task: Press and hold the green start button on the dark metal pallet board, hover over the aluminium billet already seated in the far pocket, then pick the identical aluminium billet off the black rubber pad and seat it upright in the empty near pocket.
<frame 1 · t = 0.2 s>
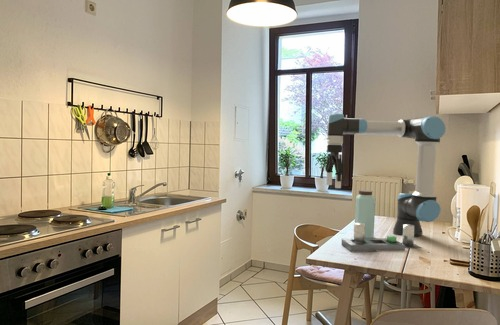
hand: (333, 186, 184), 28 cm above the table, fingers open, 13 cm apart
start button: (391, 238, 175), point 4 cm above the table, slide at 0.0 cm
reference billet: (358, 244, 173), point 2 cm above the table, touching pallet
pallet: (372, 247, 174), on the table
billet: (407, 245, 178), point 1 cm above the table, touching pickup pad
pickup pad: (407, 246, 178), on the table
water bottle: (363, 238, 193), on the table
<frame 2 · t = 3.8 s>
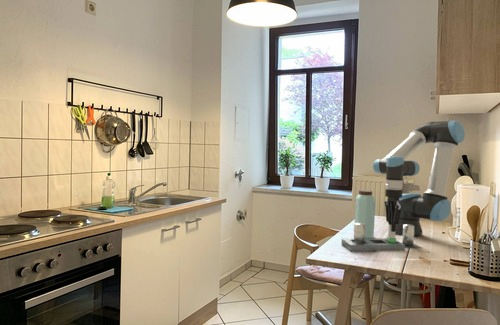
hand: (391, 237, 174), 5 cm above the table, fingers closed
start button: (391, 240, 175), point 4 cm above the table, slide at 0.8 cm, touching gripper
everything else where it was.
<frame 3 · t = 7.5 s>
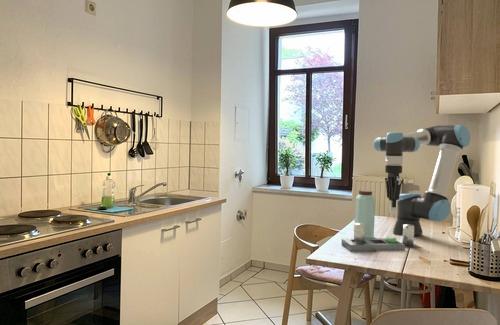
hand: (392, 213, 176), 16 cm above the table, fingers closed
start button: (391, 240, 175), point 3 cm above the table, slide at 0.8 cm
everything else where it was.
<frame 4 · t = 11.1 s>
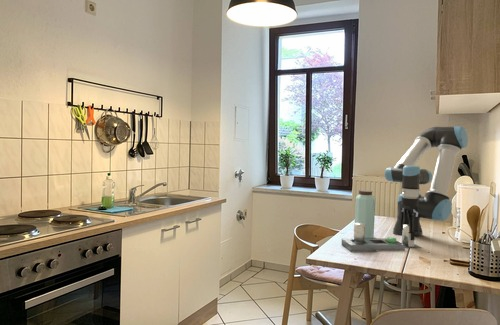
hand: (407, 244, 178), 1 cm above the table, fingers closed on billet, 5 cm apart
billet: (407, 245, 178), point 1 cm above the table, touching gripper, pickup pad
everything else where it was.
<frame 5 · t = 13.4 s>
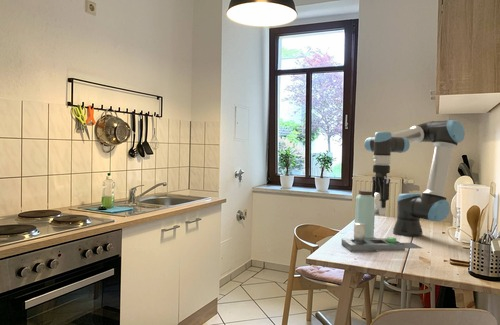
hand: (379, 213, 173), 17 cm above the table, fingers closed on billet, 5 cm apart
billet: (379, 214, 173), point 16 cm above the table, touching gripper
everything else where it was.
when the fingers open (4 cm above the table, at t = 16.0 s): billet drops 2 cm, resting on pallet.
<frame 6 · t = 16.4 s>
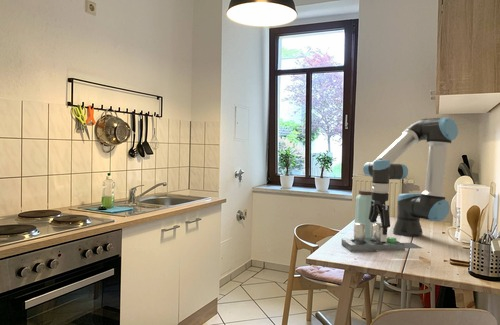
hand: (378, 238, 174), 5 cm above the table, fingers open, 10 cm apart
billet: (377, 244, 174), point 2 cm above the table, touching pallet
everything else where it was.
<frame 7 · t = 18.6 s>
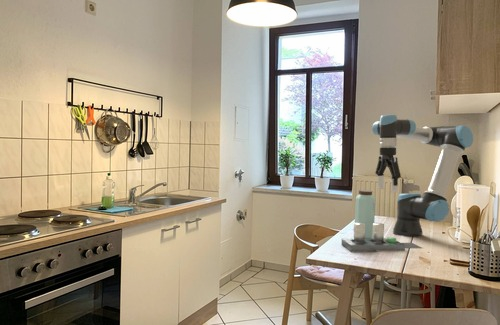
hand: (387, 190, 178), 27 cm above the table, fingers open, 13 cm apart
nothing on the table moved.
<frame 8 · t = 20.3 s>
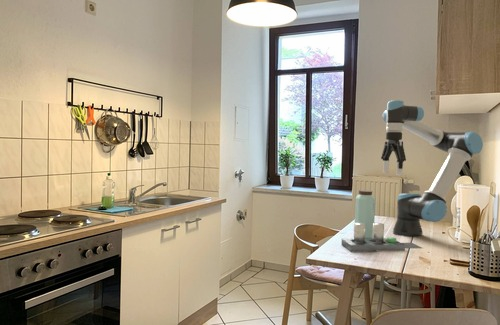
hand: (392, 174, 183), 35 cm above the table, fingers open, 13 cm apart
nothing on the table moved.
at the end: billet 0.1 cm from the target spot on the pallet, point 1.6 cm above the pallet's base; billet tilted 1°; the gripper is holding nothing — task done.
